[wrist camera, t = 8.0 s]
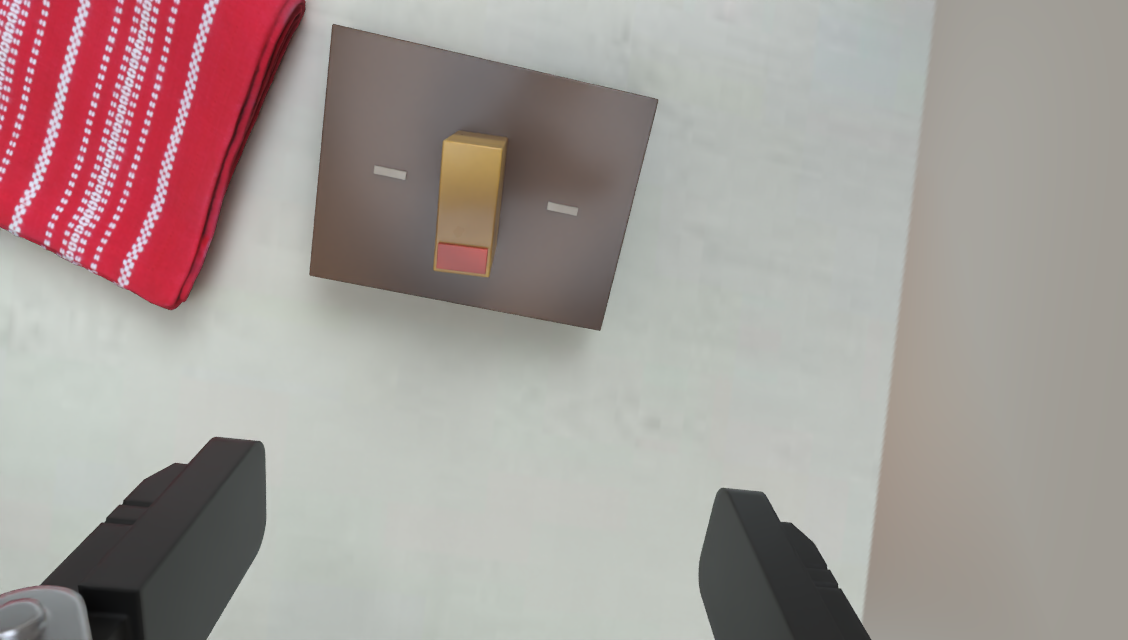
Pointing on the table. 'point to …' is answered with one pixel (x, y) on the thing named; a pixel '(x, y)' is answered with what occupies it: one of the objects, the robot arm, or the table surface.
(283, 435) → the table surface
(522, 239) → the lock plate
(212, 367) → the table surface
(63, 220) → the dish towel
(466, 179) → the yellow milk carton
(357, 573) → the table surface
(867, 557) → the table surface
